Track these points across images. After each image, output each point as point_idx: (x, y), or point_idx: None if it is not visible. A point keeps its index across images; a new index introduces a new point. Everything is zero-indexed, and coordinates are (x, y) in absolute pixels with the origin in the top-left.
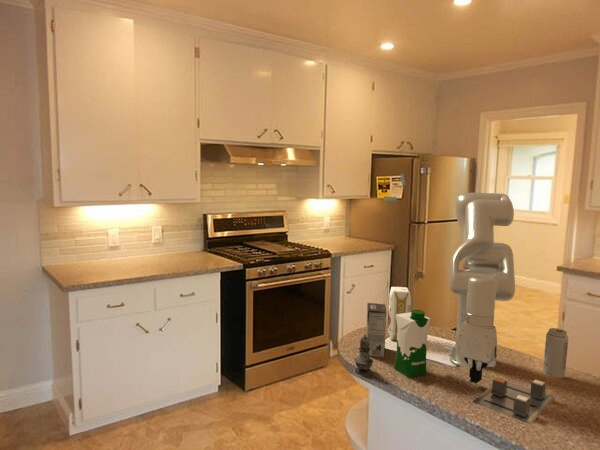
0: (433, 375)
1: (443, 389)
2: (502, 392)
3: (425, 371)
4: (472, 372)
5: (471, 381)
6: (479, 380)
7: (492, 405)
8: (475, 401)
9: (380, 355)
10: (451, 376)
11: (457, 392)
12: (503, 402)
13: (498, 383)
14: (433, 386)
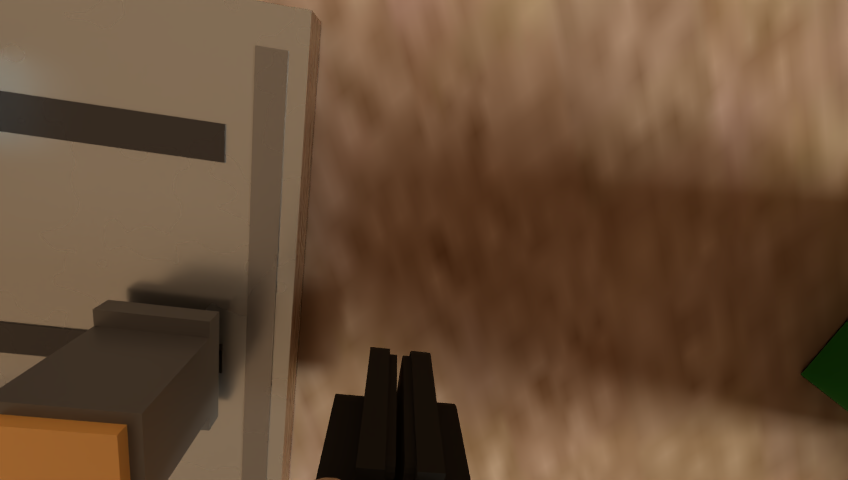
0: (740, 385)
1: (622, 195)
2: (85, 335)
3: (830, 377)
4: (416, 431)
5: (416, 352)
6: (337, 395)
7: (114, 78)
8: (282, 50)
9: None
10: (609, 452)
11: (504, 219)
12: (66, 218)
13: (70, 393)
14: (712, 194)
